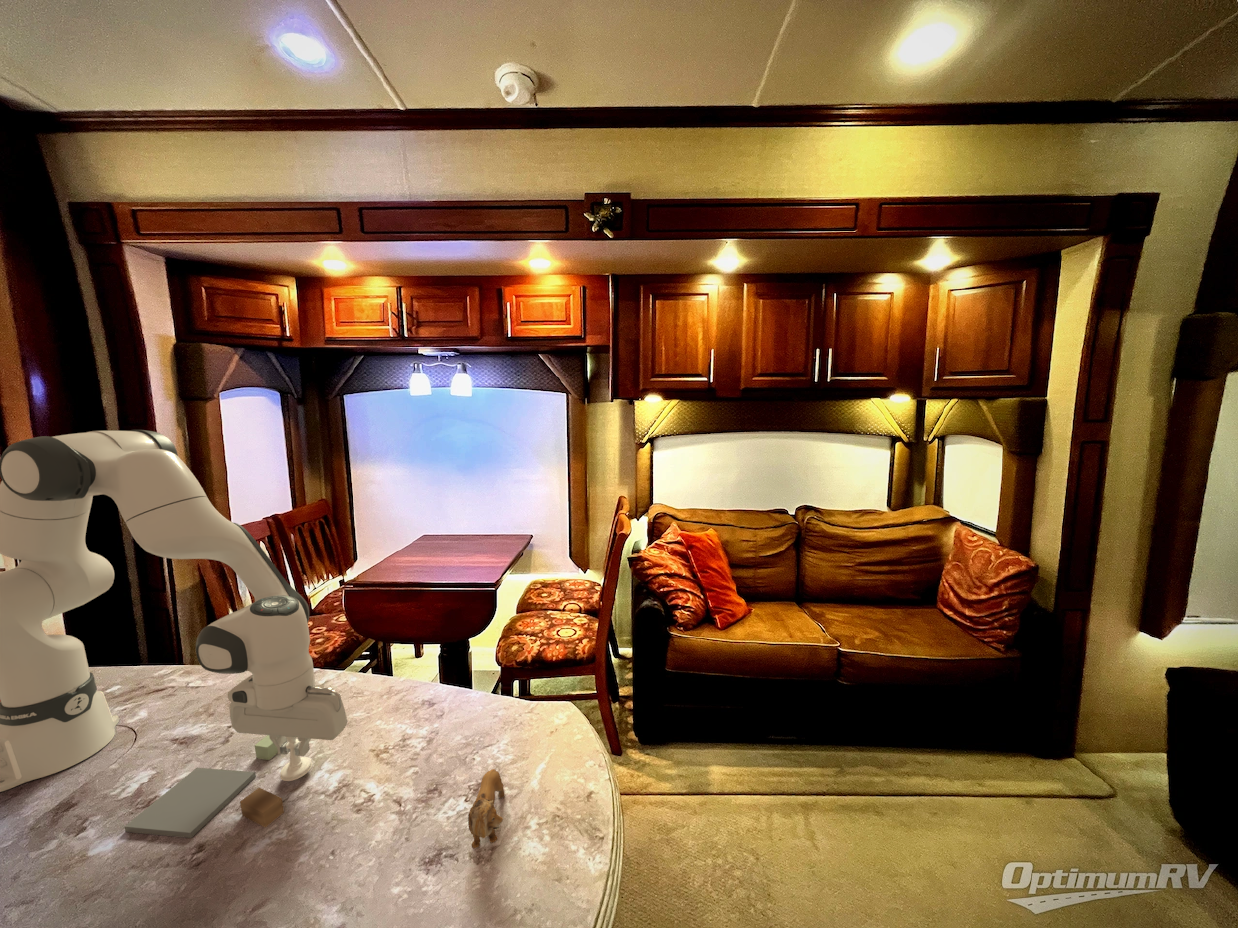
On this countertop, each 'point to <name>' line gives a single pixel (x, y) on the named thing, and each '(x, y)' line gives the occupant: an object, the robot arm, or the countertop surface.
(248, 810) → the walnut brick
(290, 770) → the chess piece
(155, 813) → the slate tile
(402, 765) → the countertop surface
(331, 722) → the robot arm
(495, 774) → the lion figurine
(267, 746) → the sage brick
